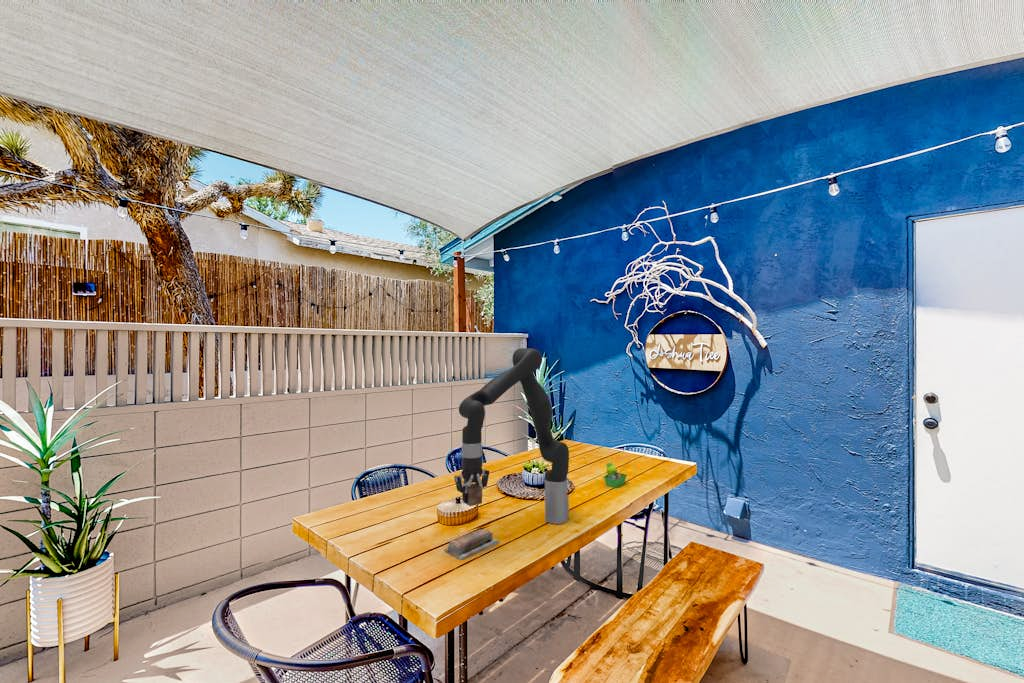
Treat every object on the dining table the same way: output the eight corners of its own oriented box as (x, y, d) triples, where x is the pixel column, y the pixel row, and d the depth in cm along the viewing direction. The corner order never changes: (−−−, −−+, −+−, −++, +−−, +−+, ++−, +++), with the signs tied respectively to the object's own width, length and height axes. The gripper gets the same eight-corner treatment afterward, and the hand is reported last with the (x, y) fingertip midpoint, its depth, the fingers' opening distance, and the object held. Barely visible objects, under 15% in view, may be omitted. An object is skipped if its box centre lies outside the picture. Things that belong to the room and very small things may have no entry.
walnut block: (474, 499, 160) (474, 483, 160) (481, 503, 156) (481, 486, 156) (463, 502, 157) (463, 485, 157) (470, 506, 153) (470, 489, 153)
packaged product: (461, 548, 148) (443, 539, 155) (461, 562, 148) (443, 552, 155) (499, 531, 160) (481, 523, 167) (499, 544, 160) (481, 536, 167)
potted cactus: (615, 489, 219) (615, 467, 219) (600, 485, 225) (600, 463, 225) (627, 484, 226) (627, 463, 227) (613, 480, 233) (613, 459, 233)
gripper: (483, 449, 164) (483, 494, 164) (449, 455, 156) (450, 502, 156) (494, 453, 158) (494, 499, 158) (460, 459, 150) (460, 508, 150)
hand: (472, 500), depth 157 cm, fingers closed on walnut block, 5 cm apart
